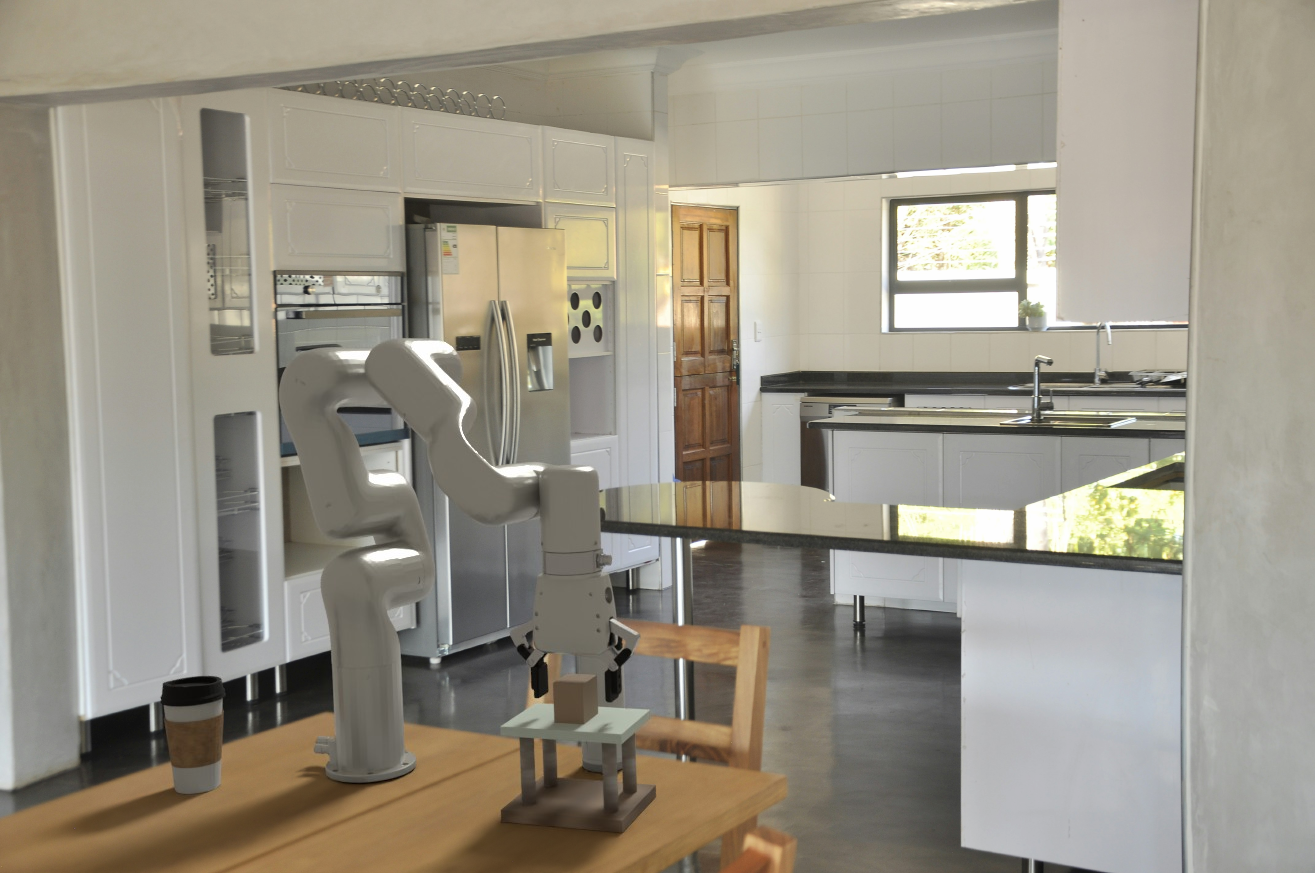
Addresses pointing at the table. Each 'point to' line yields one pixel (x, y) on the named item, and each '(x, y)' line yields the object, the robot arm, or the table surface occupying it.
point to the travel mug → (598, 667)
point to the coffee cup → (194, 731)
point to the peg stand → (579, 792)
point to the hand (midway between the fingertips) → (576, 697)
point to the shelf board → (575, 732)
